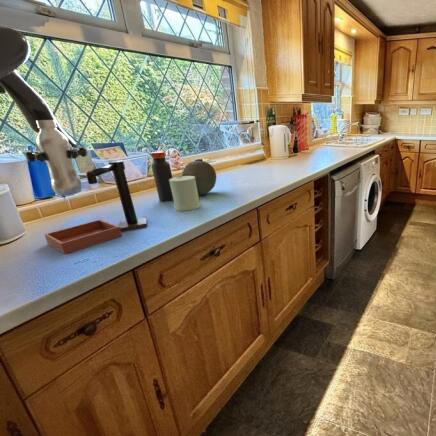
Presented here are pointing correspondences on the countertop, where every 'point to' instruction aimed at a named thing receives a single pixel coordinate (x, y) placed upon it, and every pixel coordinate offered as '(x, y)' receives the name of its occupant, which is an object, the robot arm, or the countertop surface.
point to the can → (184, 193)
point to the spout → (104, 171)
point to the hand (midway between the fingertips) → (57, 156)
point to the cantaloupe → (201, 175)
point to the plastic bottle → (58, 158)
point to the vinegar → (162, 176)
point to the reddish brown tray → (82, 236)
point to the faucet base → (127, 204)
